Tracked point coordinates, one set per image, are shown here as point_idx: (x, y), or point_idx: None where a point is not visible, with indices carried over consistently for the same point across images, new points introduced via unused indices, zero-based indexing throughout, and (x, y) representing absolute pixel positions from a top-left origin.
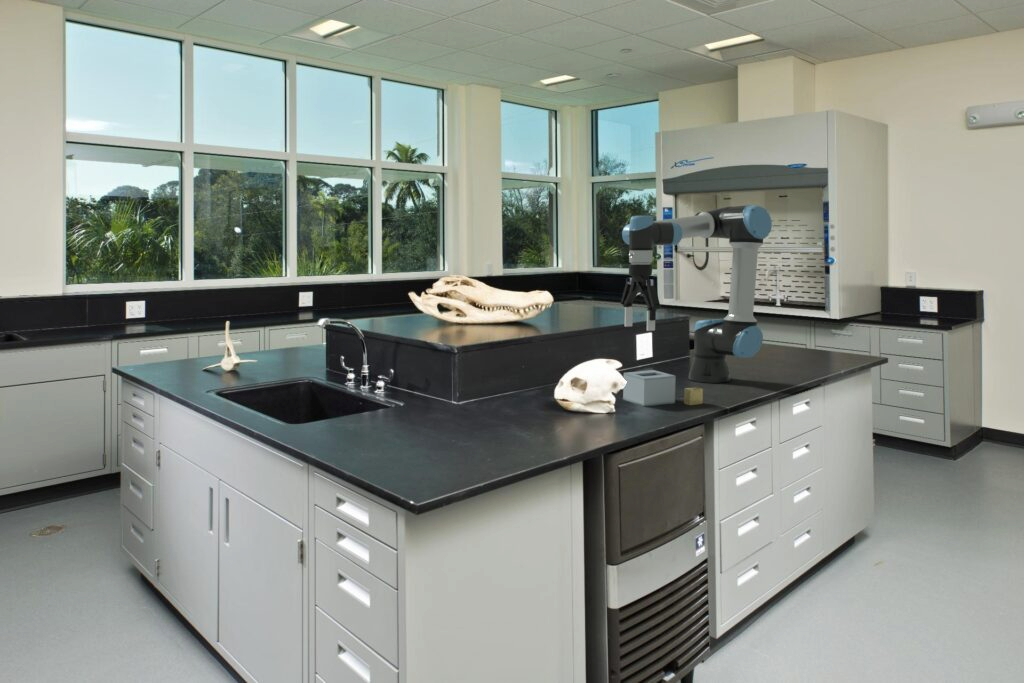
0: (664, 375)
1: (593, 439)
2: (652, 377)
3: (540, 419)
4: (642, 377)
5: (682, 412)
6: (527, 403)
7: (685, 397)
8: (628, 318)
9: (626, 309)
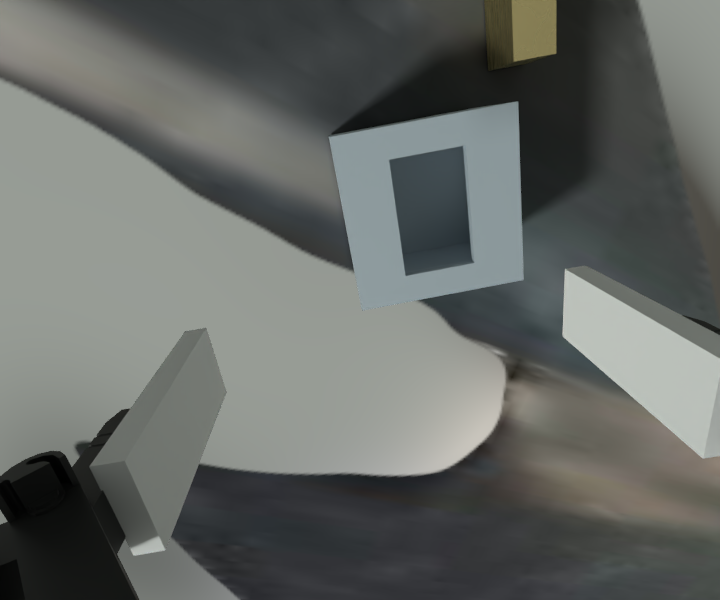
0: (490, 155)
1: (715, 472)
2: (513, 234)
3: (506, 527)
4: (496, 276)
5: (601, 151)
6: (325, 525)
7: (506, 65)
8: (197, 412)
9: (171, 516)
